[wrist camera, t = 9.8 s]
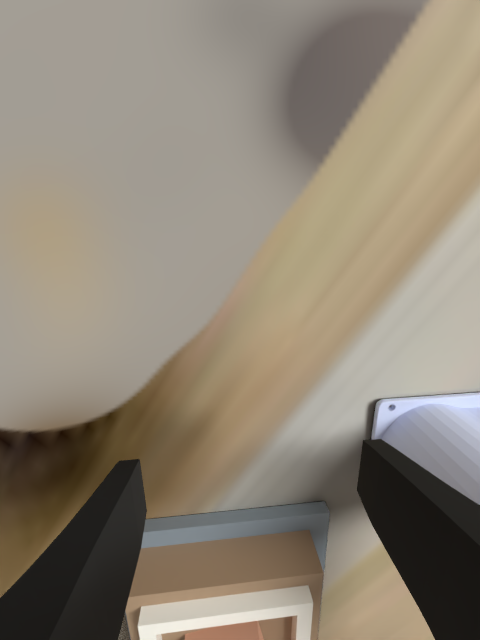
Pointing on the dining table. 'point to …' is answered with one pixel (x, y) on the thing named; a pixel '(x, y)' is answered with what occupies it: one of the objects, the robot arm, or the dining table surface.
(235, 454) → the dining table surface
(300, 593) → the build base
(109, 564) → the robot arm
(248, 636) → the terracotta cube
